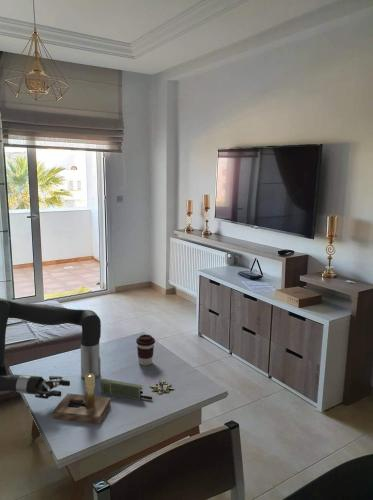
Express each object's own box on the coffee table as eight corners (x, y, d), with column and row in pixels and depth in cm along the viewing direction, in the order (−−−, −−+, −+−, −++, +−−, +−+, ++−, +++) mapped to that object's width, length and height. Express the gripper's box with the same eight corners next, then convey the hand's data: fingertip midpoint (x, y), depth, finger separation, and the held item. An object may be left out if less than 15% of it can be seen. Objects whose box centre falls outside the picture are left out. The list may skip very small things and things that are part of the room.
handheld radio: (103, 390, 190) (153, 398, 184) (100, 394, 187) (150, 402, 181) (103, 377, 189) (153, 385, 183) (99, 381, 186) (150, 389, 180)
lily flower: (144, 387, 195) (145, 378, 194) (165, 380, 202) (165, 371, 201) (158, 398, 185) (158, 389, 184) (179, 390, 192) (179, 382, 191)
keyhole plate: (53, 418, 167) (52, 411, 166) (67, 399, 181) (67, 393, 180) (99, 423, 164) (99, 416, 164) (110, 404, 178) (110, 398, 177)
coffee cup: (144, 356, 225) (144, 331, 222) (158, 362, 220) (158, 336, 217) (132, 363, 217) (132, 337, 215) (146, 368, 212) (146, 342, 209)
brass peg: (94, 408, 175) (94, 372, 172) (96, 414, 171) (96, 377, 168) (84, 410, 173) (83, 374, 170) (85, 416, 169) (85, 379, 166)
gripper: (20, 385, 166) (57, 389, 164) (37, 368, 180) (72, 372, 178) (21, 401, 168) (58, 405, 166) (38, 384, 182) (72, 388, 179)
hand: (65, 388), depth 172 cm, fingers open, 8 cm apart
